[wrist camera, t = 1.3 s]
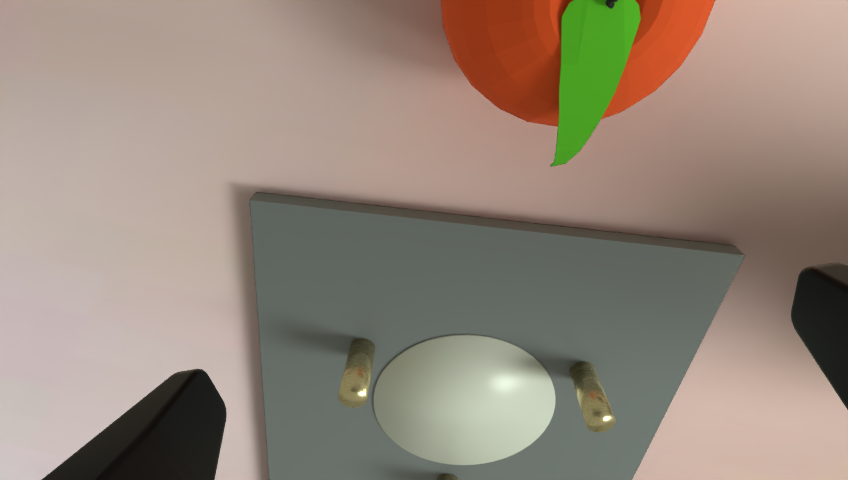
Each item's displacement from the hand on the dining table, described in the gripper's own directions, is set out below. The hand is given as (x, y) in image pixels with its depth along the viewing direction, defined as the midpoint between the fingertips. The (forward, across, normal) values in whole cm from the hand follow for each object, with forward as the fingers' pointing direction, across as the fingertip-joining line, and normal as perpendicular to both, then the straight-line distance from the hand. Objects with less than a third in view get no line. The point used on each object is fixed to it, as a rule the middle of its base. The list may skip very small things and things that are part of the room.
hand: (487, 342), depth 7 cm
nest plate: (+12, +2, +14) cm, 19 cm away
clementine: (+12, -4, -3) cm, 13 cm away
